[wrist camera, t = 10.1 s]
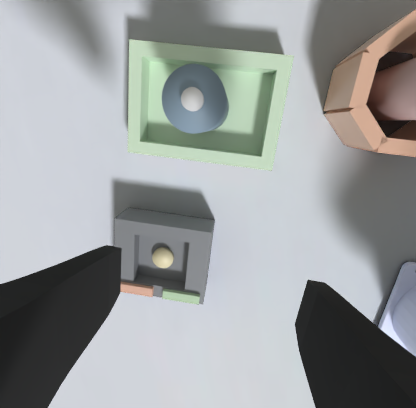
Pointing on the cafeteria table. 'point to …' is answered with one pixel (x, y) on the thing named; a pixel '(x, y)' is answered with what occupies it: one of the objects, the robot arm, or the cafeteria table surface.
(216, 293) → the cafeteria table surface
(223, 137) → the trough
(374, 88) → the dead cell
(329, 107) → the cup
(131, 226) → the grey button box
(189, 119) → the cell
